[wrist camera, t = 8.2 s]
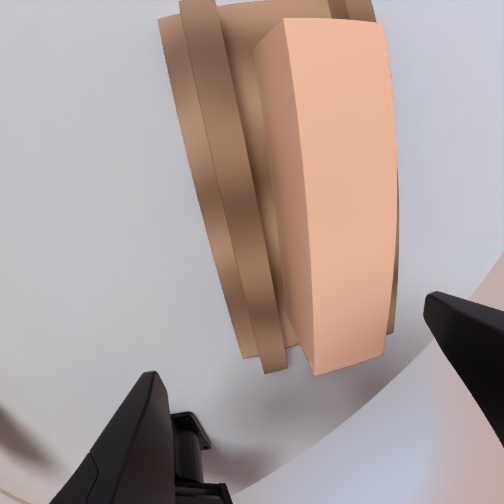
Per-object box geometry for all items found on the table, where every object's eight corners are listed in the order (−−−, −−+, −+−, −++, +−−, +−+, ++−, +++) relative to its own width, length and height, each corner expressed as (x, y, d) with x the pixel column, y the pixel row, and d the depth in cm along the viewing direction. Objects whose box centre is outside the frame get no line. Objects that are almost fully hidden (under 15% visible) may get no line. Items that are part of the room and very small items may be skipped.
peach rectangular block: (341, 298, 21) (382, 355, 16) (285, 312, 21) (314, 376, 15) (325, 46, 14) (382, 23, 9) (252, 49, 14) (282, 18, 9)
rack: (387, 305, 24) (406, 327, 21) (240, 349, 23) (247, 378, 20) (361, 4, 14) (386, -8, 11) (159, 24, 13) (152, 7, 11)
